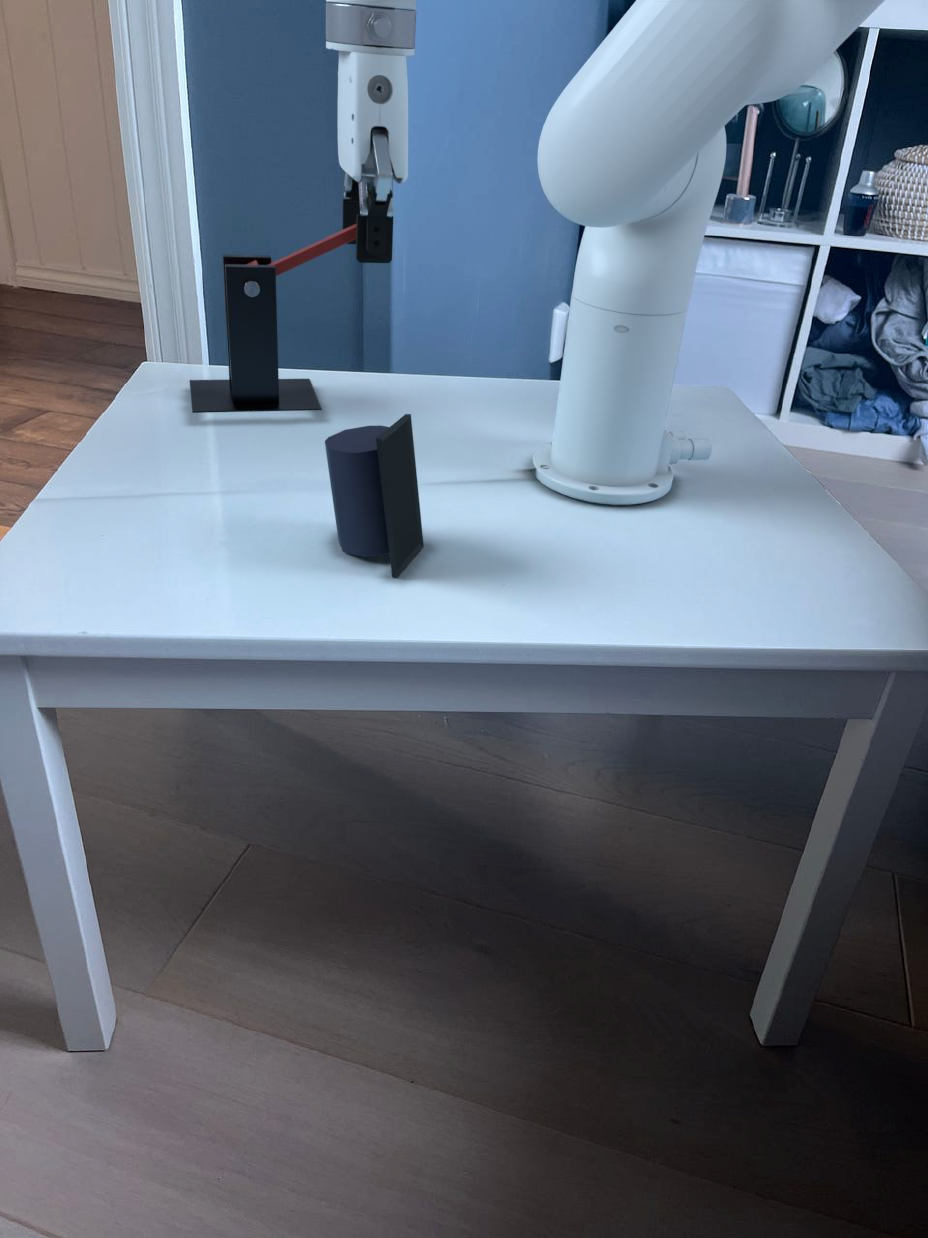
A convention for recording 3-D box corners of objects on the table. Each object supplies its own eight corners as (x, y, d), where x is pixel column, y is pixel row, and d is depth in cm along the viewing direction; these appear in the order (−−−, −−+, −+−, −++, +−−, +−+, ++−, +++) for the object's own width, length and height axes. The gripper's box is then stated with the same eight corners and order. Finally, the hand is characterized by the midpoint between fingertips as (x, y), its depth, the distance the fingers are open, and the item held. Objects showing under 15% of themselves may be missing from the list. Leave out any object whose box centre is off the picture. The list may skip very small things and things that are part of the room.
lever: (374, 229, 93) (363, 205, 91) (383, 240, 89) (373, 215, 87) (239, 292, 93) (227, 268, 91) (243, 306, 89) (231, 281, 87)
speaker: (448, 550, 73) (441, 416, 68) (395, 579, 69) (384, 440, 64) (374, 525, 77) (363, 397, 72) (322, 552, 73) (305, 419, 68)
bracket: (309, 389, 101) (308, 251, 94) (321, 420, 94) (320, 273, 87) (190, 391, 98) (179, 248, 91) (193, 423, 91) (181, 271, 84)
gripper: (438, 40, 76) (426, 275, 85) (393, 31, 90) (387, 234, 99) (342, 32, 74) (340, 274, 83) (312, 25, 88) (313, 232, 97)
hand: (366, 250), depth 91 cm, fingers open, 7 cm apart
